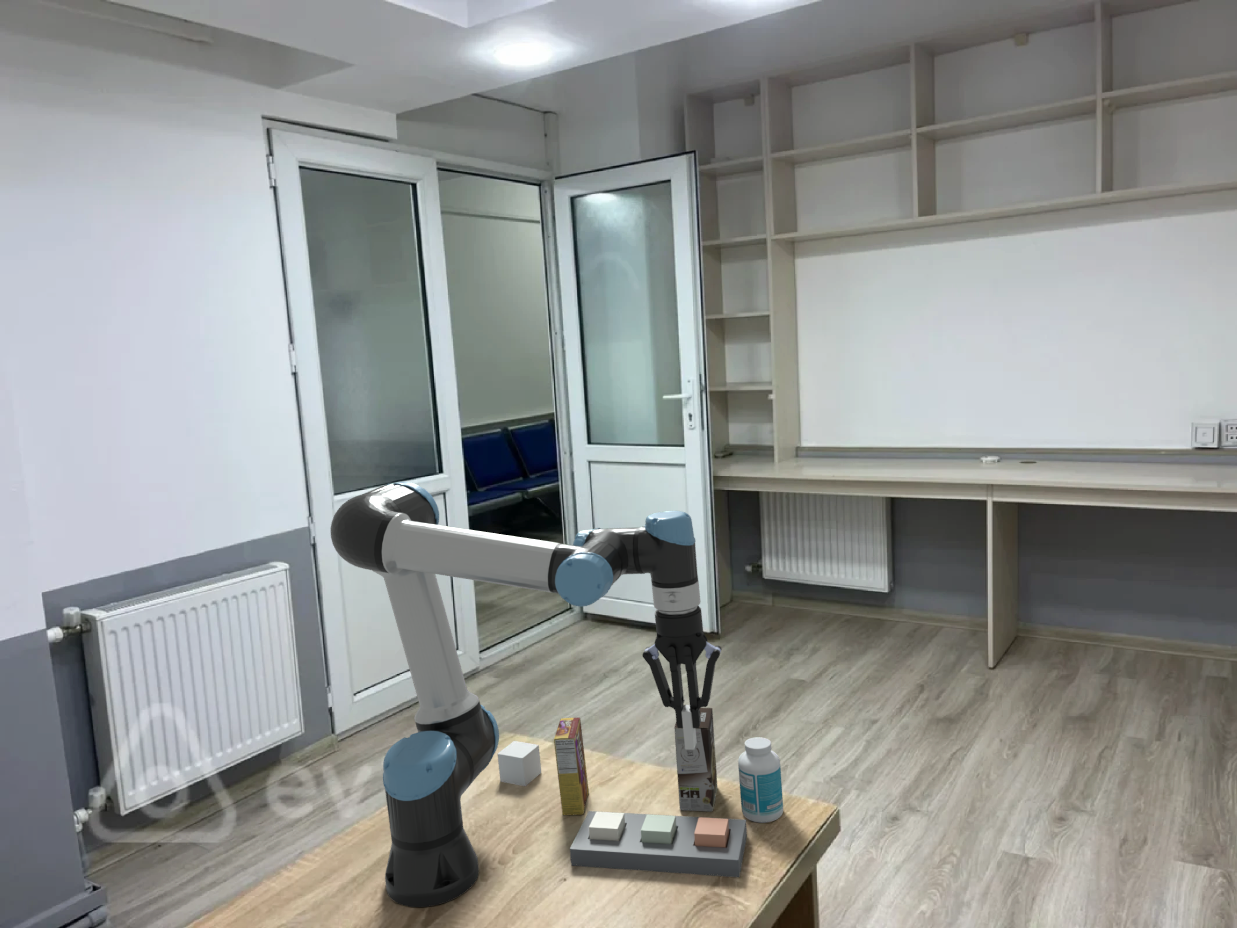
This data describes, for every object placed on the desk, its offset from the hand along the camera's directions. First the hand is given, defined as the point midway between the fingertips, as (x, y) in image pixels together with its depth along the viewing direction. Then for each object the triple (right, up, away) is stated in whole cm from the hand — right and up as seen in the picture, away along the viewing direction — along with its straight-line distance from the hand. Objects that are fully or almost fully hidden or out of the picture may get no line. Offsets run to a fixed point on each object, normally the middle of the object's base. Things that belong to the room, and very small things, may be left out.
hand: (691, 745), depth 151 cm
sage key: (-5, -17, +4) cm, 19 cm away
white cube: (-32, -17, +34) cm, 49 cm away
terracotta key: (+4, -17, +2) cm, 18 cm away
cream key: (-14, -18, +6) cm, 23 cm away
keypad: (-5, -19, +5) cm, 20 cm away
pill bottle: (+14, -16, +14) cm, 25 cm away
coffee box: (+3, -16, +20) cm, 26 cm away
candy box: (-20, -18, +22) cm, 35 cm away
